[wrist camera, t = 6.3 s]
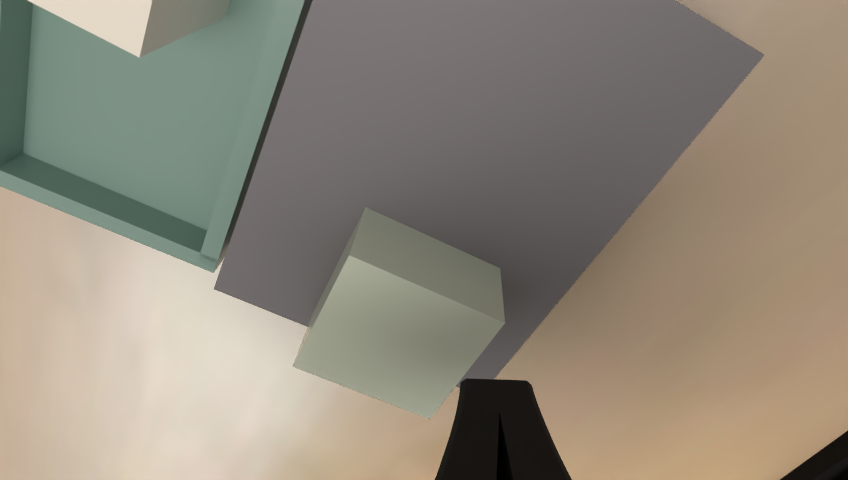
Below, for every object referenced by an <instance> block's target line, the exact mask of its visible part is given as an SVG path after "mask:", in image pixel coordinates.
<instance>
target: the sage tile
mask: <svg viewBox="0 0 848 480" xmlns="http://www.w3.org/2000/svg"><path fill="white" fill-rule="evenodd" d="M504 324H505V316H504V305H503V294H502V282H501V271H500V268H498V267H496V266H494V265H492V264H490V263H487V262H485V261H483V260H481V259H479V258H476V257H474V256H472V255H470V254H468V253H465V252H463V251H461V250H459V249H457V248H454V247H452V246H450V245H448V244H446V243H443V242H441V241H439V240H437V239H435V238H432V237H430V236H428V235H426V234H424V233H422V232H419V231H417V230H415V229H413V228H411V227H408V226H406V225H404V224H402V223H400V222H397V221H395V220H393V219H391V218H389V217H386V216H384V215H382V214H380V213H378V212H375V211H373V210H371V209H369V208H367V207H365V209H364V211H363V213H362V215H361V217H360V219H359V221H358V223H357V225H356V227H355V229H354V231H353V233H352V235H351V237H350V239H349V241H348V243H347V245H346V247H345V249H344V251H343V253H342V255H341V257H340V259H339V261H338V263H337V265H336V267H335V269H334V271H333V273H332V275H331V277H330V279H329V281H328V283H327V285H326V287H325V289H324V291H323V293H322V295H321V297H320V299H319V301H318V303H317V305H316V308H315V310H314V312H313V314H312V317H311V320H310V322H309V325H308V327H307V330H306V333H305V335H304V338H303V341H302V343H301V346H300V349H299V351H298V354H297V357H296V359H295V362H294V364H293V367H295V368H298V369H300V370H303V371H305V372H308V373H311V374H313V375H316V376H318V377H321V378H324V379H326V380H329V381H332V382H334V383H337V384H339V385H342V386H345V387H347V388H350V389H352V390H355V391H358V392H360V393H363V394H365V395H368V396H371V397H373V398H376V399H378V400H381V401H384V402H386V403H389V404H391V405H394V406H397V407H399V408H402V409H404V410H407V411H410V412H412V413H415V414H417V415H420V416H423V417H425V418H428V419H430V418H431V417H432V416H433V414H434V413H435V412H436V411H437V409H438V408H439V407H440V405H441V404H442V403H443V402H444V400H445V399H446V398H447V397H448V395H449V394H450V393H451V391H452V390H453V389H454V388H455V386H456V385H457V384H458V382H459V381H460V380H461V379H462V377H463V376H464V375H465V374H466V372H467V371H468V370H469V368H470V367H471V366H472V365H473V363H474V362H475V361H476V360H477V358H478V357H479V356H480V354H481V353H482V352H483V351H484V349H485V348H486V347H487V345H488V344H489V343H490V342H491V340H492V339H493V338H494V337H495V335H496V334H497V333H498V331H499V330H500V329H501V328H502V326H503V325H504Z"/></svg>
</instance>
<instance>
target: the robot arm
mask: <svg viewBox="0 0 848 480" xmlns="http://www.w3.org/2000/svg"><path fill="white" fill-rule="evenodd" d="M435 480H572V479H571V477H570V475H569V474H568V472H567V470H566V468H565V466H564V464H563V462H562V460H561V458H560V455H559V453H558V451H557V449H556V447H555V445H554V443H553V440H552V438H551V436H550V433H549V431H548V429H547V427H546V424H545V422H544V419H543V417H542V414H541V412H540V409H539V406H538V404H537V401H536V398H535V395H534V392H533V388H532V385H531V384H530V383H529V382H528V381H522V380H496V379H470V378H466V379H464V380H463V381H461V382H460V394H459V400H458V406H457V411H456V415H455V419H454V423H453V427H452V430H451V434H450V437H449V441H448V443H447V446H446V449H445V452H444V455H443V458H442V461H441V464H440V467H439V470H438V473H437V476H436V478H435Z"/></svg>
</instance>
